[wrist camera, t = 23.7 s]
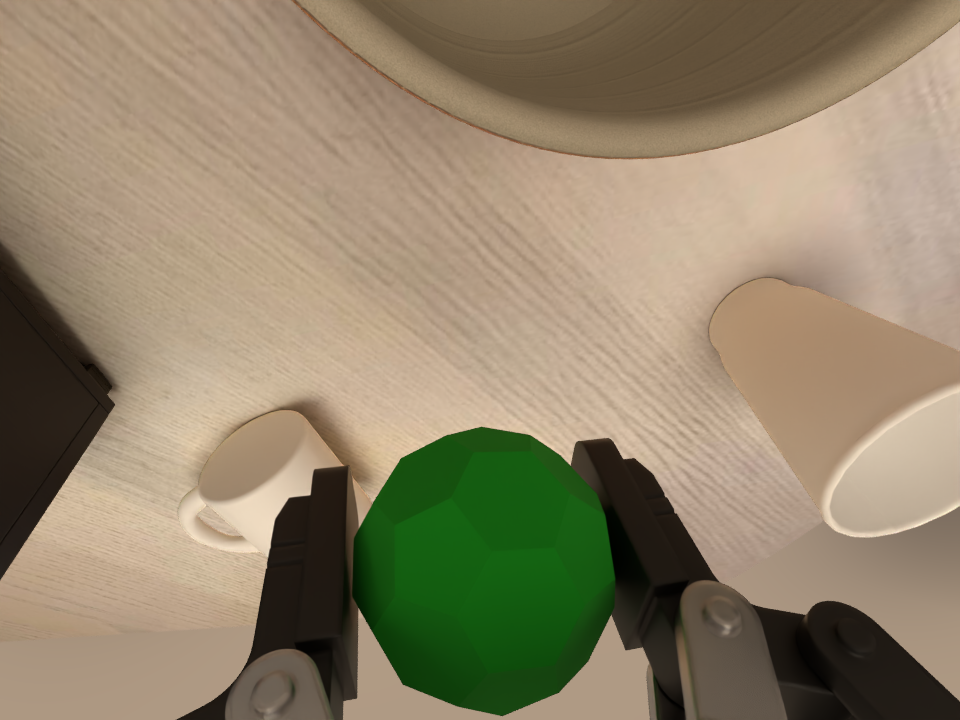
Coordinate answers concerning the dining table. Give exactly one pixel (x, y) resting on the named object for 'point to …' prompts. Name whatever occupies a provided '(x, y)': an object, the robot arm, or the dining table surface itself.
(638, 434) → the dining table surface
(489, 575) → the polyhedron
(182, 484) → the dining table surface
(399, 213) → the dining table surface
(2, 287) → the oven
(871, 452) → the cup
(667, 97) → the planter
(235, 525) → the mug
